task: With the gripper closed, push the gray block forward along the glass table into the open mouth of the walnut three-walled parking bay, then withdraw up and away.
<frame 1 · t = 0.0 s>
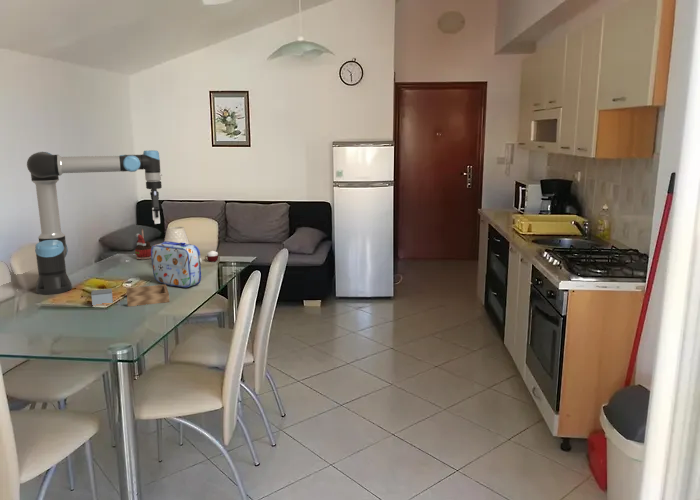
hand: (156, 221, 293), 28 cm above the table, fingers open, 13 cm apart
lunch box: (178, 285, 277), on the table
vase: (178, 269, 309), on the table
cocoa: (213, 261, 328), on the table
gray block: (102, 304, 246), on the table
bay: (146, 299, 252), on the table
cake: (144, 258, 337), on the table
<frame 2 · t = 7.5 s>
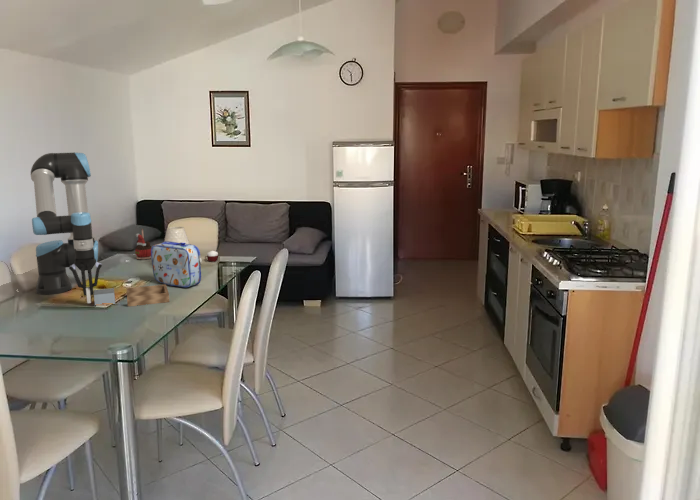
hand: (89, 302, 243), 2 cm above the table, fingers closed
gray block: (105, 304, 246), on the table, touching gripper
everything else where it was.
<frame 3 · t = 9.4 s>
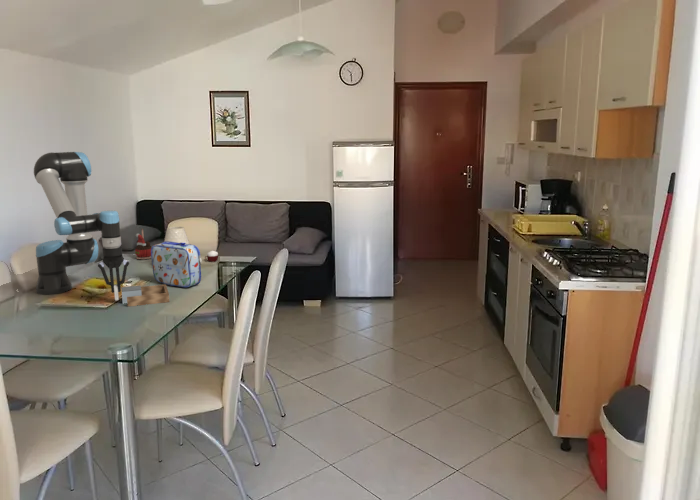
hand: (116, 299, 247), 2 cm above the table, fingers closed
gray block: (132, 301, 250), on the table, touching gripper
everything else where it was.
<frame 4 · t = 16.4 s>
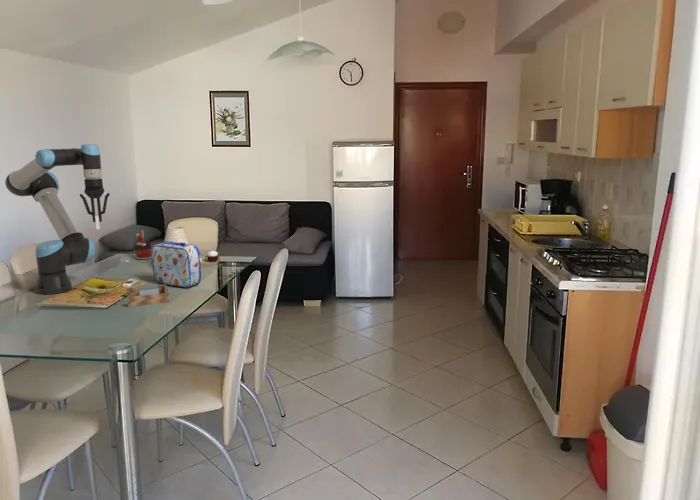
hand: (98, 228, 263), 29 cm above the table, fingers closed
gray block: (149, 299, 253), on the table
everything else where it was.
at the end: gray block inside the target area on the bay (0.5 cm from its centre), point 0.0 cm above the bay's base; gray block tilted 0°; the gripper is holding nothing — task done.
